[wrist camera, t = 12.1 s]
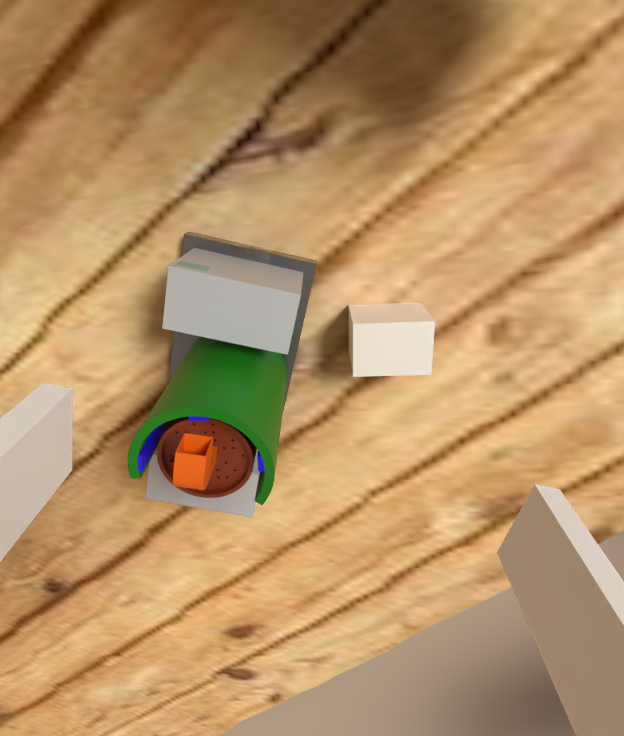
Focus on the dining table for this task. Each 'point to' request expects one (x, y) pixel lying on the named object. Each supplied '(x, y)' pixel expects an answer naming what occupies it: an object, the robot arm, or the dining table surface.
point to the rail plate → (307, 266)
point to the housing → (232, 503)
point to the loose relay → (390, 339)
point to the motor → (216, 421)
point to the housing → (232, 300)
